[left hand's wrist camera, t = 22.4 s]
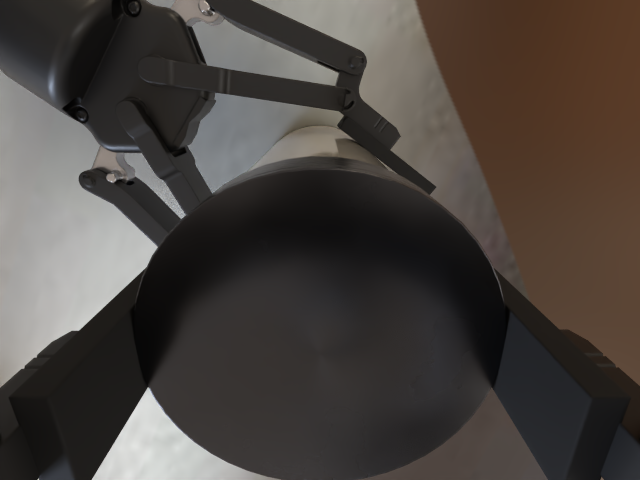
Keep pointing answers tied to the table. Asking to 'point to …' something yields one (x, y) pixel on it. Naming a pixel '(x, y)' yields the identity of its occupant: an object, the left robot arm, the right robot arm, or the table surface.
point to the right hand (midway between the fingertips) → (373, 248)
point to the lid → (319, 321)
